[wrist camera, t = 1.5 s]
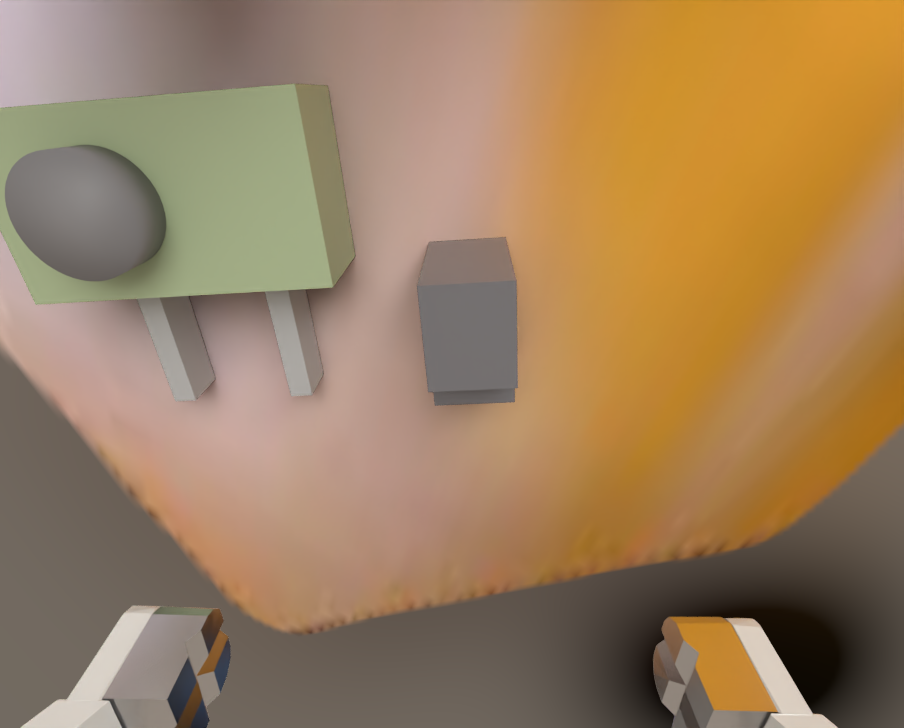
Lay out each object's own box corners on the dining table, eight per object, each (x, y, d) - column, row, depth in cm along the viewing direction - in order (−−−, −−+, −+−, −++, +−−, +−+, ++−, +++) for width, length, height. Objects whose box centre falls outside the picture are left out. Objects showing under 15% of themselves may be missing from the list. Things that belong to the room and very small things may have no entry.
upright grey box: (505, 236, 27) (516, 280, 20) (508, 356, 30) (518, 425, 24) (429, 241, 27) (417, 286, 21) (439, 359, 30) (432, 428, 24)
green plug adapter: (327, 85, 23) (276, 82, 17) (373, 371, 30) (349, 441, 24) (39, 109, 24) (-108, 114, 18) (148, 381, 31) (69, 452, 25)
